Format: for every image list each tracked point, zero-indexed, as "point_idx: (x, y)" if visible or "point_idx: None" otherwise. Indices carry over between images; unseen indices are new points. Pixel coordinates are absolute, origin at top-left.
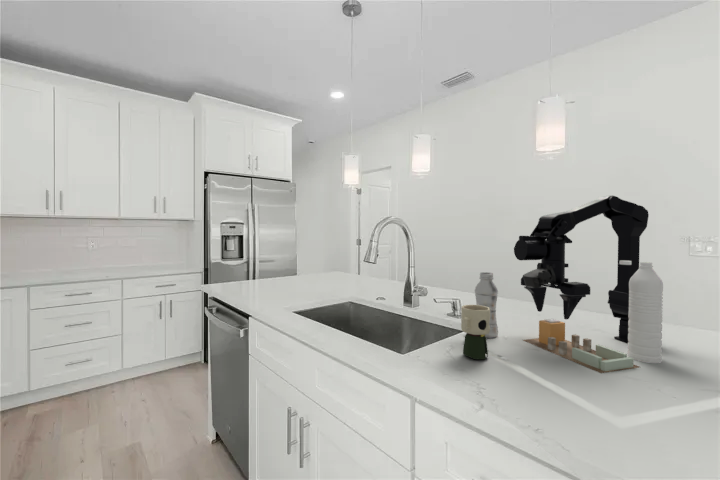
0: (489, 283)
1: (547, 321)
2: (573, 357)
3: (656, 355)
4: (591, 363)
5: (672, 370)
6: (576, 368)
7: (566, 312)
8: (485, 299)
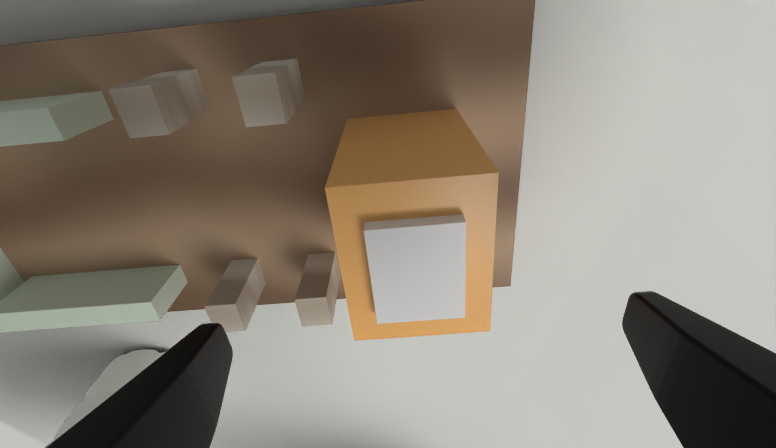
0: None
1: (417, 221)
2: (84, 93)
3: None
4: None
5: None
6: (15, 35)
7: (111, 395)
8: None
